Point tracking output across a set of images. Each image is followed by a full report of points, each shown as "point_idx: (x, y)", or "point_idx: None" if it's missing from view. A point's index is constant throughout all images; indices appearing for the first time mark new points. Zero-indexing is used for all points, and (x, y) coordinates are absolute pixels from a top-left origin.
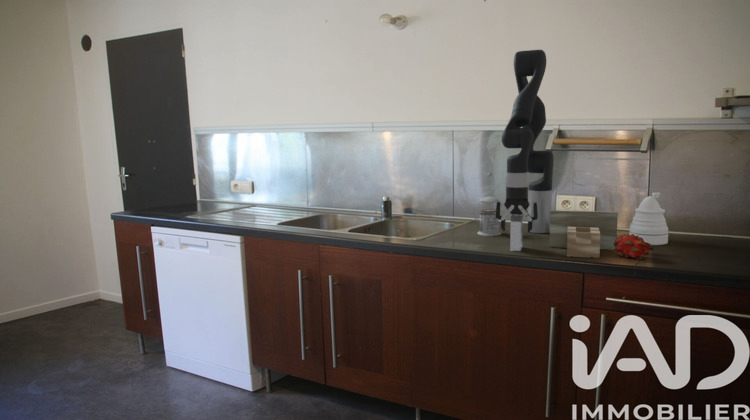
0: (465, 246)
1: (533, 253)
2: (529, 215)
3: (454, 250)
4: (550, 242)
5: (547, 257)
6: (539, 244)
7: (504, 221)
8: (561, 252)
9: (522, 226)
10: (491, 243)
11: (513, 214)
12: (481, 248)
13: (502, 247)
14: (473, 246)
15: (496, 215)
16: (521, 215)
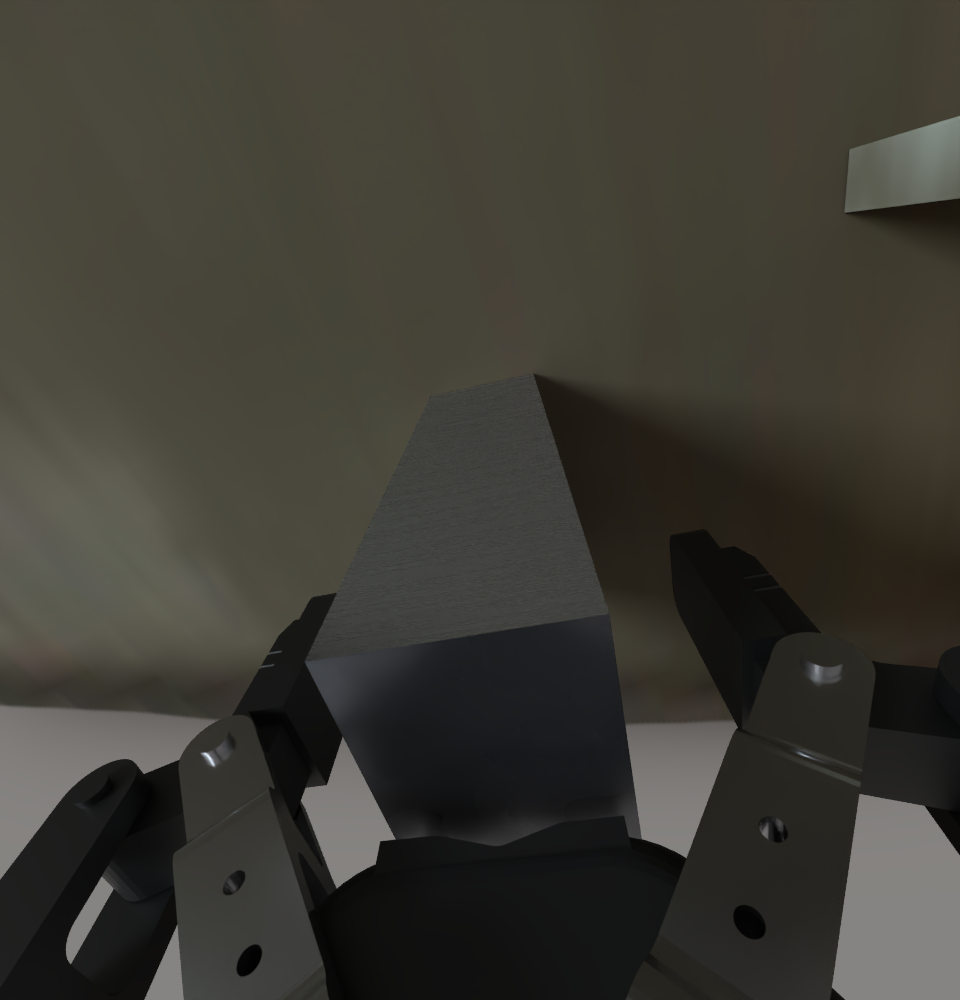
0: (63, 560)
1: None
2: (841, 764)
3: (110, 699)
4: (899, 203)
5: None
6: (706, 90)
7: (323, 780)
8: (953, 453)
9: (562, 468)
10: (154, 323)
11: (370, 725)
12: (224, 577)
13: (359, 470)
14: (115, 534)
15: (133, 917)
16: (621, 790)
